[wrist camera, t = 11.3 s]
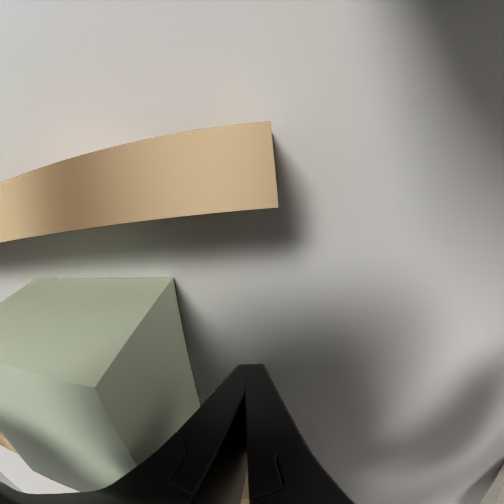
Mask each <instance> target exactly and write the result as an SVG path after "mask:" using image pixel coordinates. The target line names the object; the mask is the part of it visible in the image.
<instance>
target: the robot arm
mask: <svg viewBox="0 0 504 504" xmlns="http://www.w3.org/2000/svg"><path fill="white" fill-rule="evenodd" d="M247 469H248V489H249V504H355V503H354V502H353V501H352V500H351V499H350V498H349V497H348V496H347V495H346V494H345V493H344V492H343V491H342V490H341V488H340V487H339V486H338V485H337V484H336V483H335V481H334V480H333V479H332V478H331V477H330V476H329V474H328V473H327V472H326V471H325V470H324V468H323V467H322V466H321V465H320V463H319V462H318V461H317V459H316V458H315V457H314V455H313V454H312V452H311V451H310V449H309V447H308V446H307V444H306V443H305V441H304V439H303V437H302V435H301V434H300V432H299V430H298V428H297V427H296V425H295V423H294V421H293V419H292V417H291V415H290V414H289V412H288V410H287V408H286V406H285V404H284V402H283V401H282V399H281V397H280V395H279V393H278V391H277V389H276V387H275V385H274V383H273V382H272V380H271V378H270V376H269V374H268V372H267V370H266V368H265V366H264V365H263V364H240V365H238V366H237V367H236V368H235V369H234V370H233V372H232V373H231V374H230V375H229V376H228V377H227V378H226V379H225V380H224V382H223V383H222V384H221V385H220V386H219V387H218V388H217V389H216V390H215V391H214V393H213V394H212V395H211V396H210V397H209V398H208V399H207V400H206V401H205V402H204V403H203V404H202V405H201V406H200V408H199V409H198V410H197V411H196V412H195V413H194V414H193V415H192V416H191V417H190V418H189V419H188V420H187V421H186V422H185V423H184V424H183V425H182V426H181V427H180V428H179V429H178V432H175V433H174V434H173V435H172V436H171V437H170V439H169V440H167V441H166V442H165V443H164V444H163V445H162V446H161V447H160V448H159V449H158V450H157V451H155V452H154V453H153V454H152V455H151V456H149V457H148V458H147V459H146V460H144V461H143V462H142V463H140V464H139V465H138V466H136V467H135V468H134V469H132V470H131V471H130V472H128V473H127V474H125V475H124V476H123V477H121V478H120V479H118V480H117V481H116V482H114V483H112V484H111V485H109V486H107V487H105V488H102V489H99V490H95V491H88V492H77V493H63V494H28V493H22V492H19V491H16V490H14V489H12V488H10V487H9V486H7V485H6V484H4V483H2V482H0V504H241V499H242V494H243V489H244V484H245V479H246V474H247Z"/></svg>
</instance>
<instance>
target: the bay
mask: <svg viewBox="0 0 504 504" xmlns="http://www.w3.org/2000/svg"><path fill="white" fill-rule="evenodd" d="M265 208H278V195H277V183H276V172H275V161H274V151H273V141H272V131H271V123H270V121H267V122H256V123H246V124H237V125H229V126H221V127H214V128H207V129H200V130H194V131H188V132H182V133H176V134H171V135H165V136H160V137H155V138H150V139H145V140H141V141H136V142H132V143H127V144H123V145H119V146H114V147H110V148H106V149H103V150H99V151H95V152H91V153H88V154H84V155H80V156H77V157H74V158H70V159H67V160H64V161H60V162H57V163H54V164H51V165H48V166H45V167H42V168H39V169H36V170H33V171H30V172H27V173H25V174H22V175H19V176H16V177H14V178H11V179H8V180H6V181H3V182H1V183H0V242H5V241H11V240H17V239H22V238H28V237H34V236H40V235H46V234H53V233H59V232H66V231H72V230H79V229H86V228H93V227H100V226H107V225H115V224H122V223H130V222H138V221H146V220H155V219H163V218H172V217H181V216H190V215H200V214H210V213H220V212H230V211H241V210H253V209H265ZM0 445H2V446H4V447H6V448H7V449H9V450H11V451H13V452H15V453H17V452H16V450H15V449H14V448H13V447H12V446H11V444H10V443H9V442H8V440H7V439H6V438H5V437H4V435H3V434H2V433H1V431H0ZM17 454H18V453H17ZM241 504H249V489H248V469H247V474H246V479H245V484H244V489H243V494H242V499H241Z"/></svg>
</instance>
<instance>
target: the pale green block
mask: <svg viewBox="0 0 504 504" xmlns="http://www.w3.org/2000/svg"><path fill="white" fill-rule="evenodd" d="M199 408H200V402H199V398H198V394H197V390H196V386H195V382H194V378H193V374H192V369H191V365H190V361H189V356H188V352H187V347H186V343H185V338H184V333H183V328H182V323H181V318H180V313H179V308H178V302H177V297H176V291H175V286H174V280H173V278H123V279H35V280H33V281H32V282H30V283H29V284H27V285H26V286H24V287H23V288H21V289H20V290H18V291H17V292H16V293H14V294H13V295H11V296H10V297H8V298H7V299H6V300H4V301H3V302H1V303H0V431H1V433H2V434H3V435H4V437H5V438H6V439H7V440H8V442H9V443H10V444H11V446H12V447H13V448H14V449H15V450H16V452H17V453H18V454H19V455H20V457H21V458H22V459H23V460H24V461H25V462H26V463H27V465H28V466H29V467H30V468H31V469H32V470H33V471H35V472H37V473H39V474H41V475H43V476H45V477H47V478H49V479H51V480H54V481H56V482H58V483H60V484H63V485H65V486H67V487H70V488H72V489H75V490H77V491H80V492H88V491H95V490H99V489H102V488H105V487H107V486H109V485H111V484H112V483H114V482H116V481H117V480H118V479H120V478H121V477H123V476H124V475H125V474H127V473H128V472H130V471H131V470H132V469H134V468H135V467H136V466H138V465H139V464H140V463H142V462H143V461H144V460H146V459H147V458H148V457H149V456H151V455H152V454H153V453H154V452H155V451H157V450H158V449H159V448H160V447H161V446H162V445H163V444H164V443H165V442H166V441H167V440H169V439H170V437H171V436H172V435H173V434H174V433H175V432H178V429H179V428H180V427H181V426H182V425H183V424H184V423H185V422H186V421H187V420H188V419H189V418H190V417H191V416H192V415H193V414H194V413H195V412H196V411H197V410H198V409H199Z"/></svg>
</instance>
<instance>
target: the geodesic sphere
mask: <svg viewBox="0 0 504 504" xmlns="http://www.w3.org/2000/svg"><path fill="white" fill-rule="evenodd" d="M479 504H504V464H503V466H502V468H501V470H500V471H499V473H498V475H497V477H496V478H495V480H494V482H493V483H492V485H491V487H490V488H489V490H488V491H487V493H486V494H485V496H484V497H483V499H482V500H481V502H480V503H479Z"/></svg>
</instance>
